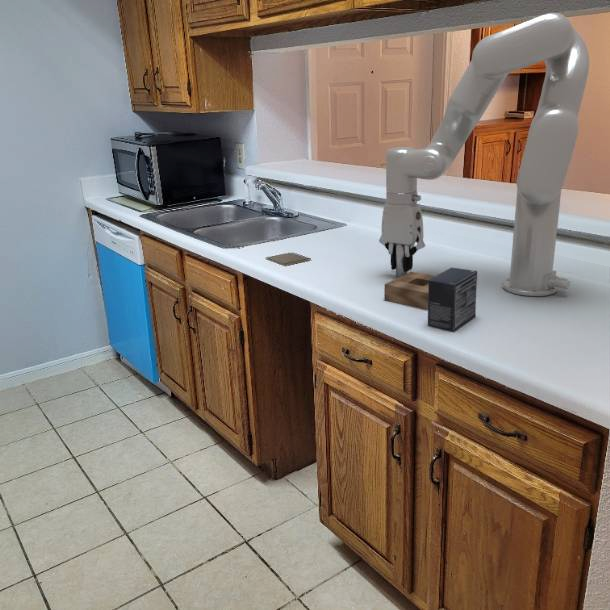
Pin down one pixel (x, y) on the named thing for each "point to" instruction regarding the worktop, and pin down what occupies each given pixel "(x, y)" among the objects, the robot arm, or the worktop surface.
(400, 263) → the pin
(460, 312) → the small box
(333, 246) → the worktop surface
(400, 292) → the socket block
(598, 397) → the worktop surface
